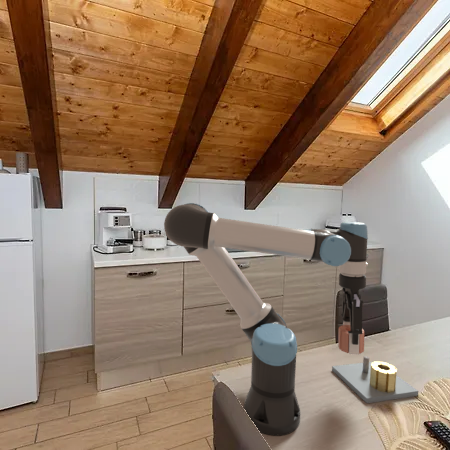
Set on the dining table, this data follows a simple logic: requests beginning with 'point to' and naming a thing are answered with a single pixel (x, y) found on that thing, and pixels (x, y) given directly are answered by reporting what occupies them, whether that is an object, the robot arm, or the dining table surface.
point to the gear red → (344, 339)
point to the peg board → (360, 382)
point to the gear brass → (383, 377)
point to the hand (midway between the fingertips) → (350, 347)
